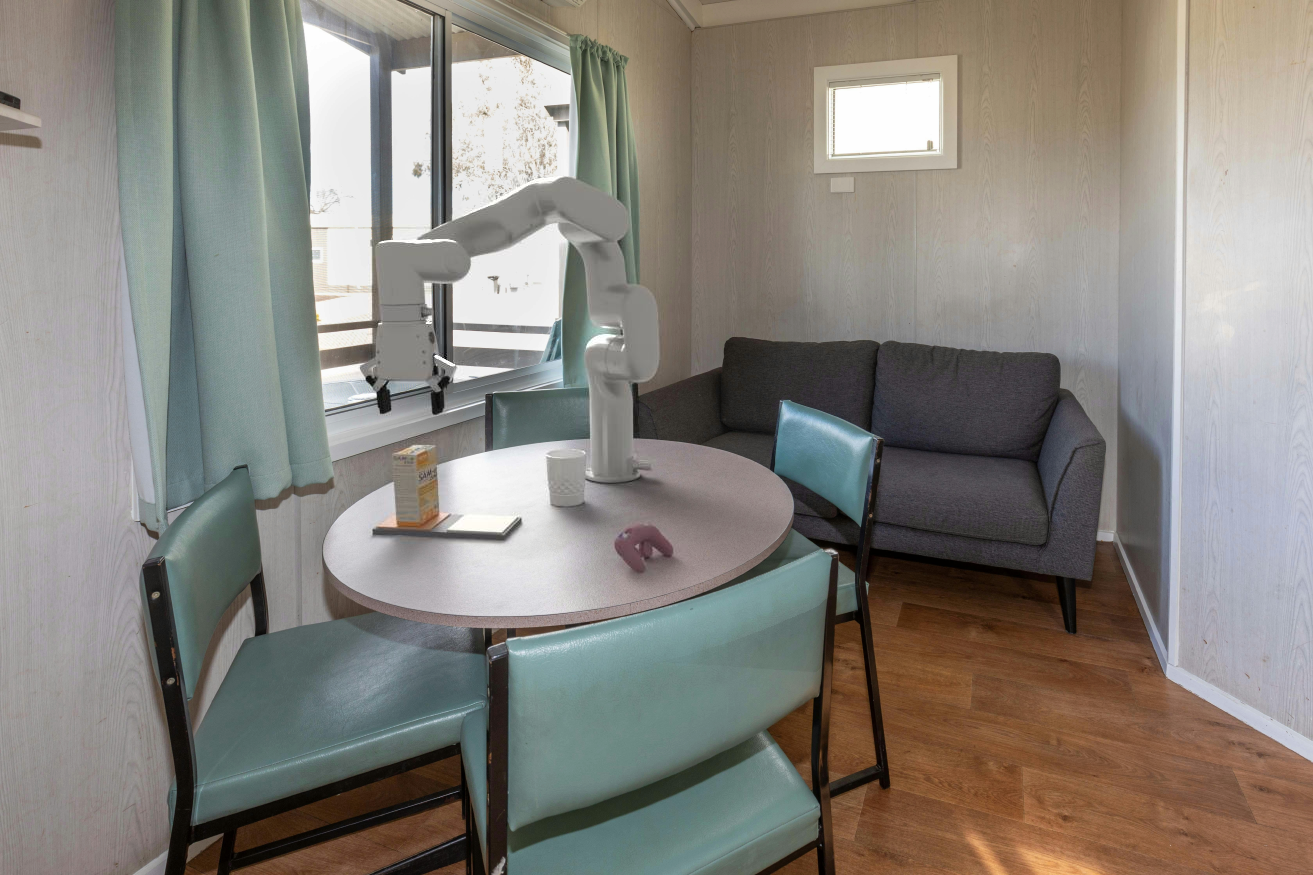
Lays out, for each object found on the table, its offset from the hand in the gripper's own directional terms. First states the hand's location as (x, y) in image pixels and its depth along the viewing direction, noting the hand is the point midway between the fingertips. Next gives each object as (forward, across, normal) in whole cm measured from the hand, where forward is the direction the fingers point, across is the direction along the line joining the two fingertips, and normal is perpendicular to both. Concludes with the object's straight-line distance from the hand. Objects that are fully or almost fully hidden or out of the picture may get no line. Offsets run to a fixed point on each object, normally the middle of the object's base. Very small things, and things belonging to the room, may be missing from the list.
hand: (411, 413), depth 141 cm
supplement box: (+20, 0, 0) cm, 20 cm away
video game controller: (+22, -43, +12) cm, 49 cm away
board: (+21, -6, +1) cm, 22 cm away
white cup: (+22, -23, -18) cm, 36 cm away
